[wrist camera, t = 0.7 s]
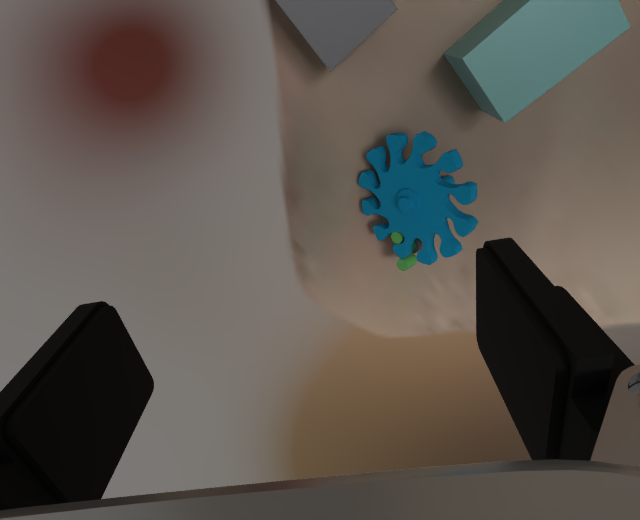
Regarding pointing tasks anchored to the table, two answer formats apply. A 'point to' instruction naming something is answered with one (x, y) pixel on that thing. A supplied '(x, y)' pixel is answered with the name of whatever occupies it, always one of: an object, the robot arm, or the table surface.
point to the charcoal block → (336, 24)
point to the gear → (417, 199)
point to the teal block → (531, 49)
